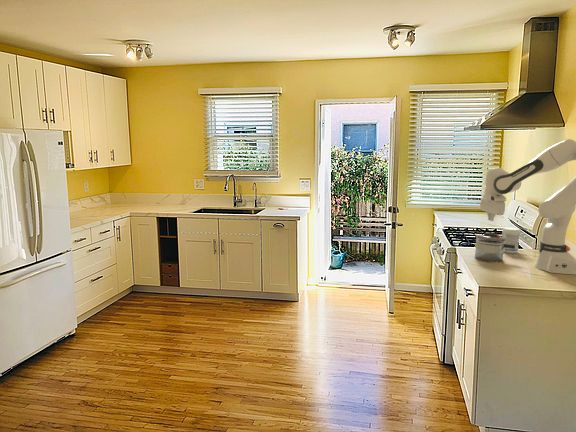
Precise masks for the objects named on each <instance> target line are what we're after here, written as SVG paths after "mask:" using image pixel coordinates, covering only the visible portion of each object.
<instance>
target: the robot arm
mask: <svg viewBox="0 0 576 432" xmlns="http://www.w3.org/2000/svg"><path fill="white" fill-rule="evenodd" d="M571 161H576V140H574V139H572V138H567V139H564V140H562V141H559V142H558V143H555V144H553V145H551V146H550V147H548V148H546V149H545V150H543V151H542V152H540V153H539V154H537V156H535V157H534V158H533V159H531V160H530V161H529V162H528V163H527V164H524V165H523V166H521V167H519V168H517V169H516V170H514V171H512V172H508V171H506V170H505V169H504V168H503V167H493V168H489V169H488V170H487V172H486V176H485V189H484V195H482V198H481V201H480V205H479V209H480V211H483V212H486V214H487V220H488V221H490V222H493V221H495V220H494V219H495V217H496V216H503V215H504V214H505V212H506V211H505V210H506V202H507V197H506V196H504V195H506V194H508V193H513V192H515V191H518V190H519V189H520V188H521V186H522V182H523V181H525V180H526V179H528V178H530V177H532V176H534V175H537V174H544V173H546V172H551V171H553V170H556V169H558V168H560V167H562V166H563V165H565V164H567V163H569V162H571ZM575 211H576V175H575V176H574V177H573V178H572V179H571V180H570V181H568V183H566V184H565V185H564V186H563V187H561V188H560V189H559V190H557V191H556V192H555V193H553V194H552V195H550V196H549V197H548V198H547V199H544V201H542V202H541V203H540V204H539V206H538V214H539V215H540V216H541V217H542V218H543V219H547V220H546V223H545V224H544V226H543V228H542V233H541V241H540V243H539V245H538V246H539V248H538V252H539V253H538V257H537V260H536V263H535V264H534V268H536V269H539V270H542V271H545V272H548V273H552V274H564V275H565V274H566V275H575V276H576V257H574V256H573V255H572V254H571V253H570V252H569V251H571V247H570V246H568V245H567V244H565V243H566V237H567V230H568V228H569V224H570V222H571V219H572V216H573V214H574V212H575Z"/></svg>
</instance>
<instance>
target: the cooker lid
mask: <svg viewBox="0 0 576 432" xmlns="http://www.w3.org/2000/svg"><path fill="white" fill-rule="evenodd" d="M475 237H476V238H480V239H486V240H496V241H505V240H506V238H504V237H502V236H501V235H498V233H489V232H484V234H476V235H475Z"/></svg>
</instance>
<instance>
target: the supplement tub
mask: <svg viewBox="0 0 576 432" xmlns="http://www.w3.org/2000/svg"><path fill="white" fill-rule="evenodd" d="M501 234H502V235H501V237H504V238H506V240H505V243H506V244H515V249H514V248H505V247H504V252H503V253H508V254H516V253H518V251H519V242H520V228H518V227H511V226H508V227H507V226H505V227H502V232H501Z"/></svg>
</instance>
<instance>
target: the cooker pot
mask: <svg viewBox="0 0 576 432" xmlns="http://www.w3.org/2000/svg"><path fill="white" fill-rule="evenodd" d="M504 247H505V248H514V249H515V244H506V243H505V241H496V240H486V239H480V238H476V239H475V251H474V259H476V260H479V261H481V262H485V261H486V263H487V262H488V263H501V262H503V260H504V253H505V252H504Z"/></svg>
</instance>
